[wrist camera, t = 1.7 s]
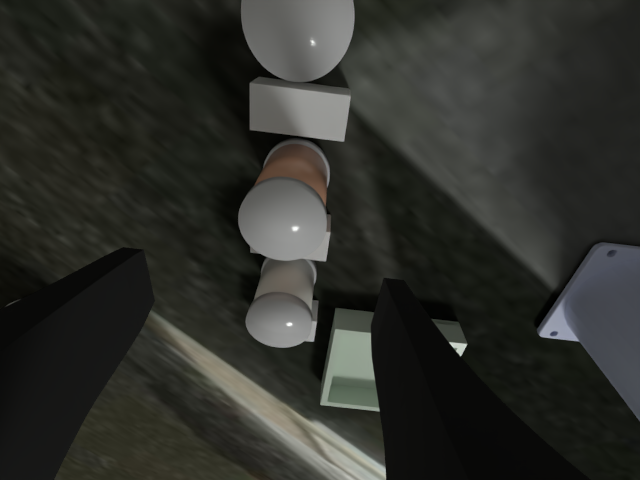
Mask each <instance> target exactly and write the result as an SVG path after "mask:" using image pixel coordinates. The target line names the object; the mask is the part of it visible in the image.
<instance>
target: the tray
mask: <svg viewBox="0 0 640 480" xmlns="http://www.w3.org/2000/svg"><path fill="white" fill-rule="evenodd" d="M373 315H374V312H367V311H359V310H350V309H341V308H335V313H334V319H333V324H332V329H331V334H330V340H329V345H328V350H327V356H326V361H325V366H324V372H323V377H322V382H321V402H320V405H327V406H336V407H345V408H354V409H363V410H373V411H380V410H379V403H378V397H377V390H376V384H375V377H374V370H373V363H372V354H371V322H372V319H373ZM432 321H433V322H434V323H435V325H436V326H437V327H438V329H439V330H440V331H441V333H442V334H443V335H444V337H445V338H446V339H447V341H448V342H449V343H450V344H451V346H452V347H453V348H454V349H455V350H456V352H457V353H458V354H459V355H460V356H461V355H462V353H463V351H464V350H465V348H466V346H467V342H466V339H465V337H464V334H463V332H462V329H461V327H460V324H459V322H454V321H446V320H437V319H432Z"/></svg>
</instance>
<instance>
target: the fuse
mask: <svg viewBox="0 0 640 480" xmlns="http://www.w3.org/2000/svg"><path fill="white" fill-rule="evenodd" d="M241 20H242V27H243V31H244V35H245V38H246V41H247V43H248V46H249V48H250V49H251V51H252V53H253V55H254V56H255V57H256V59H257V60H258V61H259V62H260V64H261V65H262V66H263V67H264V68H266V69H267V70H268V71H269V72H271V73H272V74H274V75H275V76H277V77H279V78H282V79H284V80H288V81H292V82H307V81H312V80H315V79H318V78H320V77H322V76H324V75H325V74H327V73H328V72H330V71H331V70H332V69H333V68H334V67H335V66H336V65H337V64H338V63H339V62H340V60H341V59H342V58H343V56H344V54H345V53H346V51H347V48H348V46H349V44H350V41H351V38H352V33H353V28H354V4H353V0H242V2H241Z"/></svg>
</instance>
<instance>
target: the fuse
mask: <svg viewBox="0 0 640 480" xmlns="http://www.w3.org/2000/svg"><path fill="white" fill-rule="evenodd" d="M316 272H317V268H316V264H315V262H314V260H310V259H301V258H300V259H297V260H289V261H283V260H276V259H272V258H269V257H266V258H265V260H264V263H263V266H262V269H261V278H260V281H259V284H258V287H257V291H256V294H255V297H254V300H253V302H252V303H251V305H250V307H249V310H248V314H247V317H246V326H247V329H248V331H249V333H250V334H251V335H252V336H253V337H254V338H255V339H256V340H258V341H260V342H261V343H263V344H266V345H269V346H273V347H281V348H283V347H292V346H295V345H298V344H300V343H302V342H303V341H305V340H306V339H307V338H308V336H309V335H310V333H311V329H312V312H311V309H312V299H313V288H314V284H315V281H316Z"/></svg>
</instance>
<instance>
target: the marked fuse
mask: <svg viewBox="0 0 640 480" xmlns="http://www.w3.org/2000/svg"><path fill="white" fill-rule="evenodd" d="M329 177H330V166H329V162H328V159H327V157H326V155H325V153H324V152H323V151H322V149H321V148H320V147H318V146H317V145H316V144H314V143H313V142H311V141H309V140H306V139H301V138H290V139H286V140H283V141H281V142H279V143H278V144H276V145H275V146H274V147H273V148H272V149H271V151H270V152H269V154H268V156H267V158H266V160H265V162H264V166H263V170H262V172H261V173H260V175H259V177H258V179H257V181H256V183H255V185H254V186H253V187H252V188H251V189H250V191H249V192H248V193H247V195H246V197H245V199H244V201H243V202H242V204H241V207H240V209H239V214H238V224H239V228H240V231H241V234H242V236H243V237H244V239H245V240H246V242H247V243H248V244H249V245H250V246H251V247H252V248H253V249H254V250H255V251H257V252H258V253H260V254H262V255H264V256H266V257H269V258H272V259H276V260H283V261H289V260H297V259H300V258H303V257H306V256H308V255H309V254H311V253H312V252H314V251H315V250H316V249H317V248H318V247H319V246H320V245H321V243H322V241H323V240H324V237H325V234H326V228H327V211H326V193H327V186H328V183H329Z"/></svg>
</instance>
